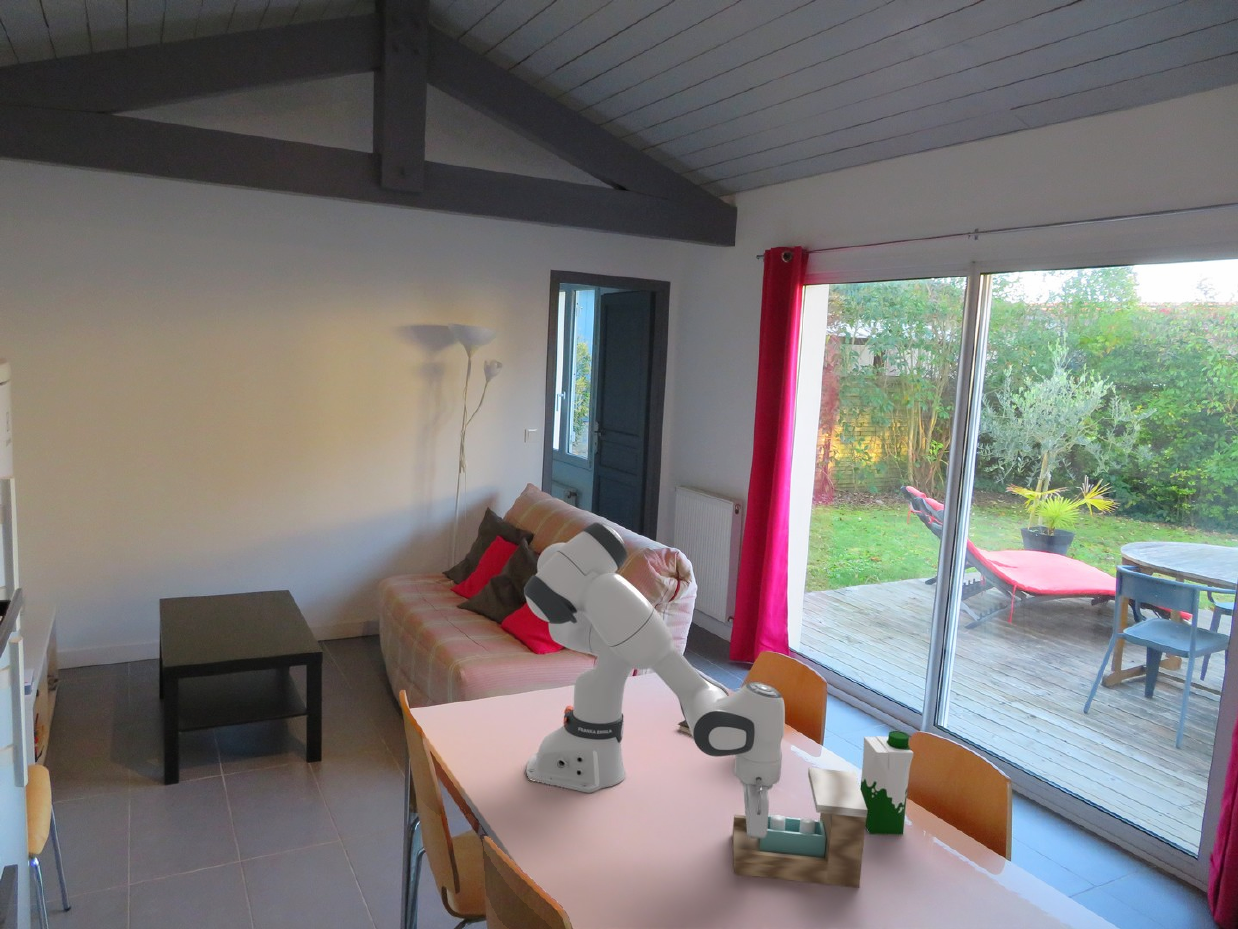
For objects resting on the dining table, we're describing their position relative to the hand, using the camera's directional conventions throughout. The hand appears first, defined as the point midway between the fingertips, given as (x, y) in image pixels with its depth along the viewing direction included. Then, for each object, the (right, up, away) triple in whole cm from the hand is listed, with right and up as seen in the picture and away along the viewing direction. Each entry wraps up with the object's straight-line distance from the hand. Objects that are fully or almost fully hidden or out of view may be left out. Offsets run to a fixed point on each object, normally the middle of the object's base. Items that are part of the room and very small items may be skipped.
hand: (752, 834), depth 174 cm
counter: (+8, -5, -1) cm, 9 cm away
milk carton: (+29, -4, +14) cm, 32 cm away
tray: (+7, -2, -1) cm, 8 cm away
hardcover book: (+3, +2, +61) cm, 61 cm away
